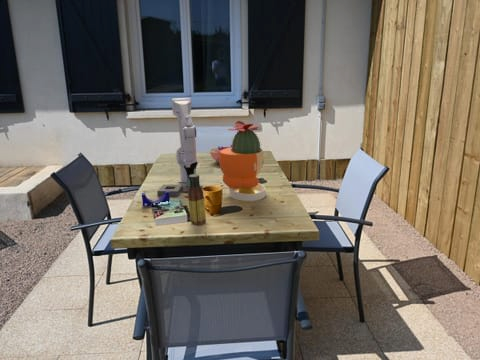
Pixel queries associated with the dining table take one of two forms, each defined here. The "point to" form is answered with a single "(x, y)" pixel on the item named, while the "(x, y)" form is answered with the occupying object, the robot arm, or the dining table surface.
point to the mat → (187, 189)
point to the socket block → (170, 190)
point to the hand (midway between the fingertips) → (191, 177)
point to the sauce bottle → (196, 201)
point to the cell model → (217, 152)
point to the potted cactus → (243, 164)
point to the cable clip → (162, 199)
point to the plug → (188, 179)
